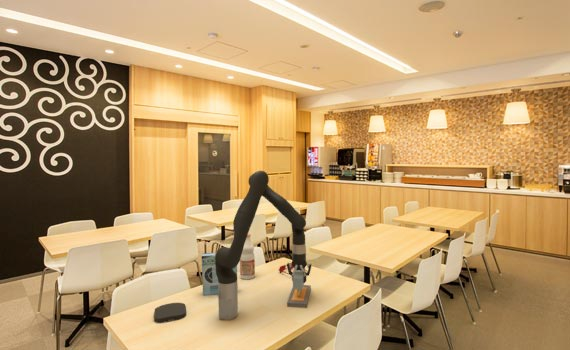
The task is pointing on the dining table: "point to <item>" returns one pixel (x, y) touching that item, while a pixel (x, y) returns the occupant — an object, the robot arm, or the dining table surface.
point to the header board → (299, 297)
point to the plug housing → (298, 280)
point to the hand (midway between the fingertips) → (299, 282)
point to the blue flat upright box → (210, 274)
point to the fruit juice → (247, 260)
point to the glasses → (285, 268)
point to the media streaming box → (170, 312)
